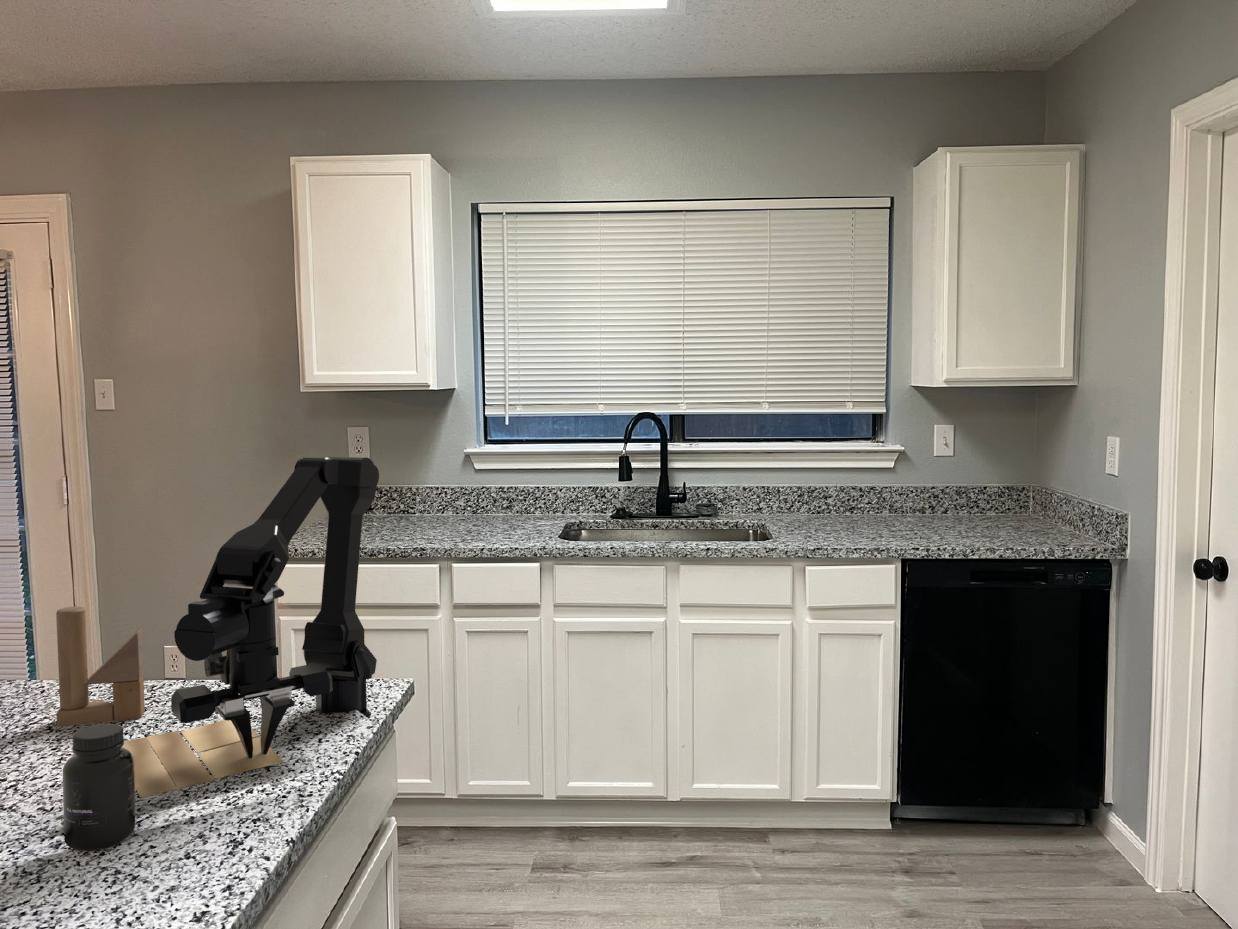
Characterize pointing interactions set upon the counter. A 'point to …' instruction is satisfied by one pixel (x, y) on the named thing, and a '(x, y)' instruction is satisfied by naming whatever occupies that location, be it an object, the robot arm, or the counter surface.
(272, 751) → the oak plank
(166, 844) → the counter surface
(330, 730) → the counter surface
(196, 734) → the oak plank
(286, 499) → the robot arm
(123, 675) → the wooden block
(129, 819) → the supplement bottle
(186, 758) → the laid floor row
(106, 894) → the counter surface
